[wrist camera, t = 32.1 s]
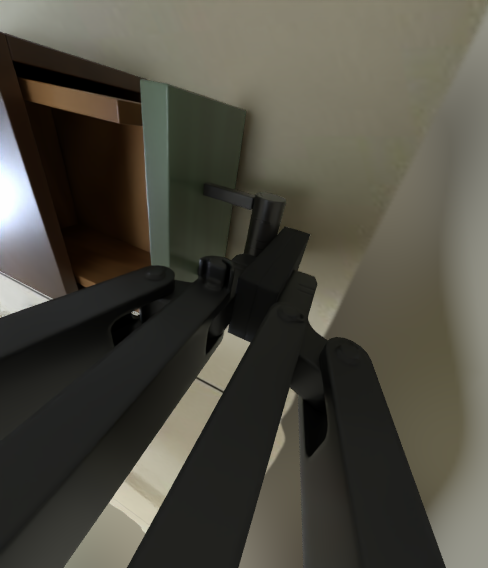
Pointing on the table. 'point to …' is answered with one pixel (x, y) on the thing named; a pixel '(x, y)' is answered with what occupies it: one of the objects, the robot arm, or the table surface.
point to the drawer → (144, 178)
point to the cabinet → (39, 162)
